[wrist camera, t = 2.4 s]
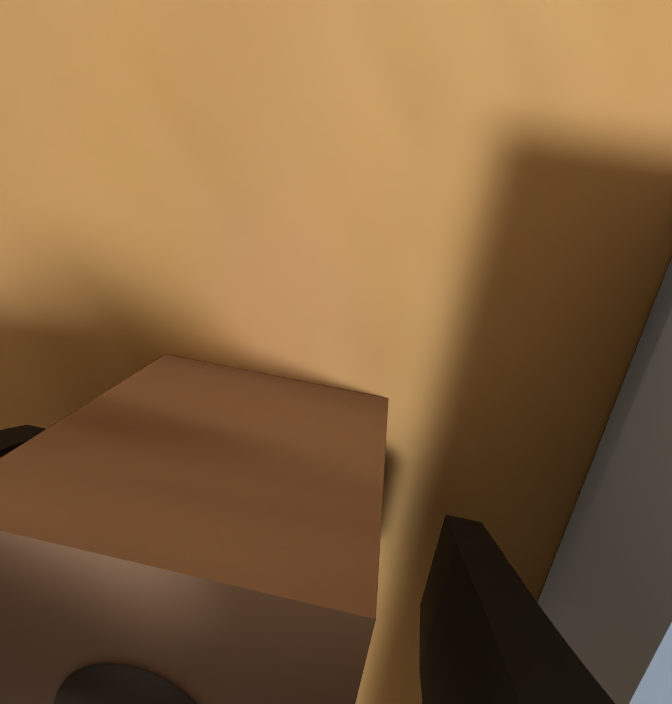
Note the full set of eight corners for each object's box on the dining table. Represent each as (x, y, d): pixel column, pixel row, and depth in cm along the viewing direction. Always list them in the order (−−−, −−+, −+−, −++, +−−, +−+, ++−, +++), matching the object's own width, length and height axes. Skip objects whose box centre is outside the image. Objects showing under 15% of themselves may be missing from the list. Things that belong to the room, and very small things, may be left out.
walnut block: (350, 577, 10) (307, 903, 5) (160, 534, 11) (-37, 804, 6) (388, 397, 9) (375, 623, 4) (166, 353, 9) (-89, 514, 4)
